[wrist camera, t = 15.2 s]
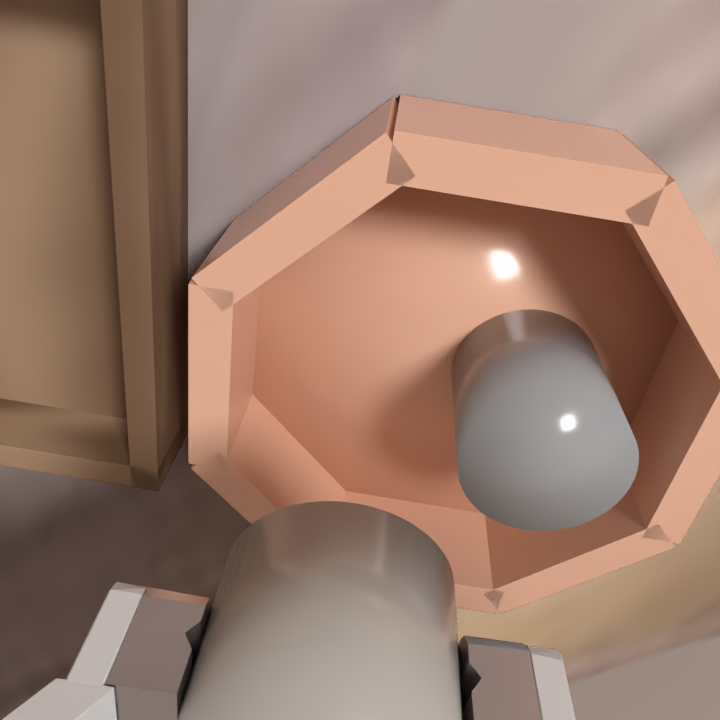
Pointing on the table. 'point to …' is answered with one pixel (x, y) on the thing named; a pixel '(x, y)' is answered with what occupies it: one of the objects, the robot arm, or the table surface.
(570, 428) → the grey rounded cylinder
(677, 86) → the table surface
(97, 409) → the tray
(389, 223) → the bowl
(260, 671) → the pebble
